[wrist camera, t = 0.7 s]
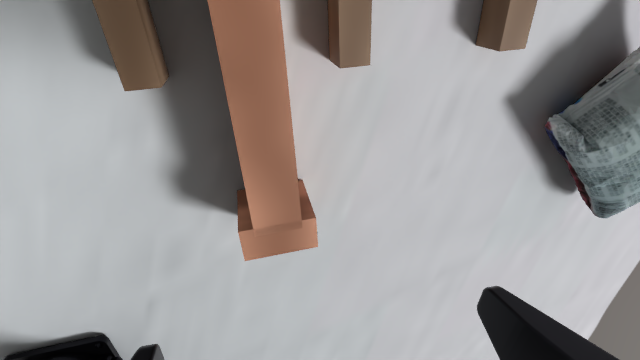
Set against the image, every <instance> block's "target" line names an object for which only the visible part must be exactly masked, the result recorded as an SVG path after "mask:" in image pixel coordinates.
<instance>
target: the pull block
mask: <svg viewBox="0 0 640 360" xmlns="http://www.w3.org/2000/svg"><path fill="white" fill-rule="evenodd" d="M207 1H208V6H209V11H210V16H211V21H212V26H213V31H214V36H215V41H216V46H217V51H218V56H219V61H220V66H221V71H222V76H223V81H224V86H225V91H226V96H227V101H228V106H229V111H230V116H231V121H232V126H233V131H234V136H235V141H236V146H237V151H238V156H239V161H240V166H241V171H242V176H243V181H244V186H245V189H243V190H237V200H238V233H239V237H240V242H241V246H242V250H243V255H244V259H245V261H247V260H252V259H258V258H263V257H268V256H273V255H278V254H283V253H288V252H293V251H299V250H304V249H309V248H314V247H318V240H317V226H316V217H315V214H314V211H313V208H312V206H311V203H310V200H309V197H308V194H307V192H306V189H305V186H304V183H303V180H299V181H298V178H297V168H296V158H295V149H294V139H293V129H292V119H291V109H290V99H289V89H288V79H287V69H286V59H285V50H284V40H283V30H282V20H281V10H280V0H207Z"/></svg>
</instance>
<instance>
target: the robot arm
mask: <svg viewBox="0 0 640 360" xmlns="http://www.w3.org/2000/svg"><path fill="white" fill-rule="evenodd" d="M477 311H478V314H479V316H480V319H481V321H482V323H483V325H484V327H485V329H486V331H487V333H488V335H489V338H490V340H491V342H492V344H493V346H494V348H495V350H496V352H497V354H498V356H499V358H500V360H619V359H618V358H616V357H614V356H613V355H611V354H609V353H608V352H606V351H604V350H603V349H601V348H599V347H598V346H596V345H595V344H593V343H591V342H589V341H588V340H587V339H585V338H583V337H582V336H580V335H578V334H577V333H575V332H573V331H572V330H570V329H569V328H567V327H565V326H564V325H562V324H560V323H559V322H557V321H555V320H554V319H552V318H551V317H549V316H547V315H546V314H544V313H542V312H541V311H539V310H538V309H536V308H534V307H533V306H531V305H529V304H528V303H526V302H524V301H523V300H521V299H520V298H518V297H516V296H515V295H513V294H511V293H510V292H508V291H506V290H505V289H503V288H501V287H499V286H493V287H487V288H485V289H484V290H483V292H482V295H481V297H480V300H479V302H478V305H477ZM3 360H123V359H122V358H121V357H120V356H119V354H118V353H117V351H116V349H115V348H114V346H113V345H112V343H111V341H110V340H109V338H107V337H105V336H96V337H92V338H87V339H83V340H78V341H73V342H69V343H64V344H59V345H55V346H50V347H45V348H41V349H36V350H32V351H27V352H22V353H18V354H13V355H9V356H6V357H5V358H4V359H3ZM131 360H164V357H163V354H162V352H161V349H160V347H159V345H158V344H152V345H146V346H142V347H140V348H139V349H138V350H137V351H136V352H135V354H134V355H133V357H132V358H131Z"/></svg>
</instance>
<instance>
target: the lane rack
mask: <svg viewBox="0 0 640 360" xmlns="http://www.w3.org/2000/svg"><path fill="white" fill-rule="evenodd" d="M92 1H93V4H94V7H95V10H96V12H97V15H98V18H99V21H100V24H101V26H102V29H103V32H104V35H105V38H106V40H107V43H108V46H109V49H110V51H111V54H112V57H113V60H114V63H115V65H116V68H117V71H118V74H119V77H120V79H121V82H122V85H123V88H124V90H125V91H133V90H142V89H151V88H161V87H162V86H163V85H164V83H165V82H166V80H167V79H168V78H169V74H168V70H167V67H166V63H165V60H164V56H163V53H162V49H161V46H160V42H159V39H158V35H157V31H156V28H155V24H154V21H153V17H152V14H151V10H150V7H149V3H148V0H92ZM327 1H328V29H329V58H330V61H331V62H333V63H334V64H335V65H336V66H338V67H339V68H348V67H357V66H367V65H370V49H371V11H372V0H327ZM536 3H537V0H484V2H483V7H482V13H481V18H480V24H479V29H478V35H477V40H476V45H477V46H481V47H485V48H489V49H492V50H496V51H507V50H516V49H525V47H526V43H527V39H528V35H529V31H530V27H531V23H532V19H533V15H534V11H535V7H536Z"/></svg>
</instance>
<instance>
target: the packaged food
mask: <svg viewBox="0 0 640 360" xmlns="http://www.w3.org/2000/svg"><path fill="white" fill-rule="evenodd" d="M545 128H546V132H547V134H548V136H549V138H550V139H551V141H552V143H553V145H554V146H555V148H556V149H557V151H558V152H559V154H560V155H561V156H562V158H563V159H564V160H565V161H566V162H567V163H568V168H569V170H570V173H571V174H572V177H573V178H574V180H575V182H576V186H577V187H578V191H579V192H580V195H581V197H582V199H583V200H584V201H585V203H586V205H587V206H588V207H589V208H590V210H591V211H592V212H593V214H594V215H595V216H597V217H599V218H609V217H610V216H612V215H615V214H617V213H619V212H621V211H623V210H625V209H627V208H629V207H631V206H633V205H635V204H637V203H639V202H640V47H639V48H638V49H637V50H635V51H633V52H632V53H631V54H630V55H629V56H628V57H627V58H626V59H625V60H624V61H623V62H621V63H620V64H619V65H618V66H617V67H616V68H615V69H614V70H612V71H611V72H610V73H609V74H608V75H607V76H605V77H604V78H603V79H602V80H601V81H600V82H598V83H597V84H596V85H595V86H594V87H593V88H591V89H590V90H589V91H588V92H587V93H585V94H584V95H583V96H582V97H581V98H580V99H579V100H578V101H577V102H576V103H575V104H573V105H570V106H568V107H567V108H566V109H565V110H564V111H562V112H561V113H559V114H554V115H553V117H552V118H551V117H549V120H548V121H547V123H546V125H545Z"/></svg>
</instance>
